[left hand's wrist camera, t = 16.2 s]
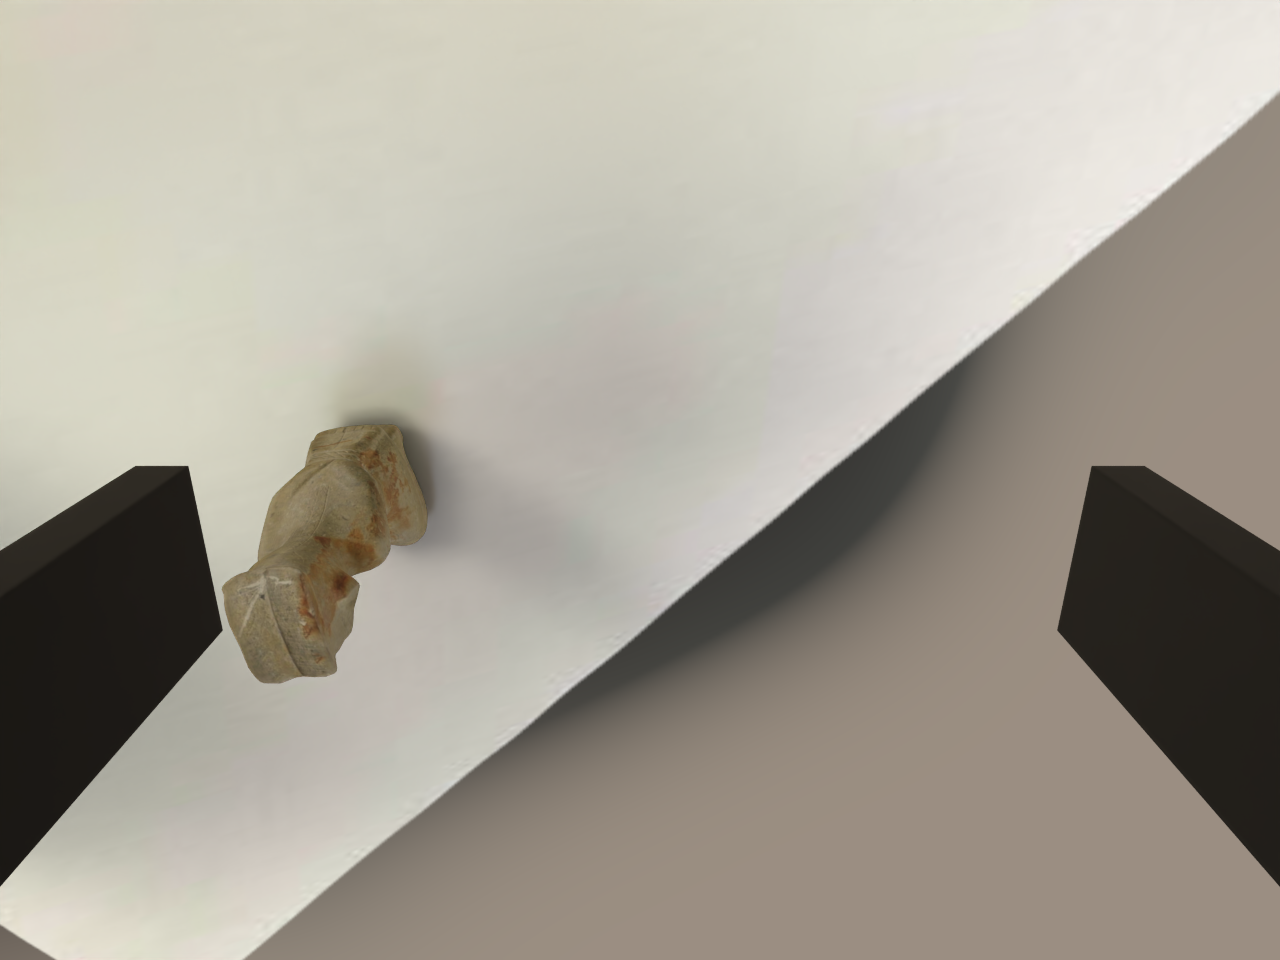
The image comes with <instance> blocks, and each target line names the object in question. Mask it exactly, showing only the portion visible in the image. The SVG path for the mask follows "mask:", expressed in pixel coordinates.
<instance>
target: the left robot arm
mask: <svg viewBox="0 0 1280 960" xmlns="http://www.w3.org/2000/svg"><path fill="white" fill-rule="evenodd" d="M1057 630H1058V632H1059V633H1060V634H1061V635H1062V636H1063V637H1064V639H1065V640H1066V641H1067V642H1068V643H1069V644H1070V645H1071V647H1072V648H1073V649H1074V650H1075V651H1076V652H1077V653H1078V655H1079V656H1080V657H1081V658H1082V659H1083V660H1084V662H1085V663H1086V664H1087V665H1088V666H1089V667H1090V669H1091V670H1092V671H1093V672H1094V673H1095V674H1096V675H1097V677H1098V678H1099V679H1100V680H1101V681H1102V682H1103V683H1104V685H1105V686H1106V687H1107V688H1108V689H1109V690H1110V692H1111V693H1112V694H1113V695H1114V696H1115V697H1116V698H1117V700H1118V701H1119V702H1120V703H1121V704H1122V705H1123V707H1124V708H1125V709H1126V710H1127V711H1128V712H1129V713H1130V715H1131V716H1132V717H1133V718H1134V719H1135V720H1136V721H1137V723H1138V724H1139V725H1140V726H1141V727H1142V728H1143V730H1144V731H1145V732H1146V733H1147V734H1148V735H1149V736H1150V738H1151V739H1152V740H1153V741H1154V742H1155V743H1156V745H1157V746H1158V747H1159V748H1160V749H1161V750H1162V751H1163V753H1164V754H1165V755H1166V756H1167V757H1168V758H1169V760H1170V761H1171V762H1172V763H1173V764H1174V765H1175V766H1176V768H1177V769H1178V770H1179V771H1180V772H1181V773H1182V774H1183V776H1184V777H1185V778H1186V779H1187V780H1188V781H1189V783H1190V784H1191V785H1192V786H1193V787H1194V788H1195V789H1196V791H1197V792H1198V793H1199V794H1200V795H1201V796H1202V798H1203V799H1204V800H1205V801H1206V802H1207V803H1208V804H1209V806H1210V807H1211V808H1212V809H1213V810H1214V811H1215V813H1216V814H1217V815H1218V816H1219V817H1220V818H1221V819H1222V821H1223V822H1224V823H1225V824H1226V825H1227V826H1228V827H1229V829H1230V830H1231V831H1232V832H1233V833H1234V834H1235V836H1236V837H1237V838H1238V839H1239V840H1240V841H1241V842H1242V844H1243V845H1244V846H1245V847H1246V848H1247V849H1248V851H1249V852H1250V853H1251V854H1252V855H1253V856H1254V857H1255V858H1256V860H1257V861H1258V862H1259V863H1260V864H1261V865H1262V867H1263V868H1264V869H1265V870H1266V871H1267V872H1268V874H1269V875H1270V876H1271V877H1272V878H1273V879H1274V880H1275V882H1276V883H1277V884H1278V885H1279V886H1280V551H1279V550H1277V549H1276V548H1274V547H1273V546H1271V545H1269V544H1268V543H1266V542H1265V541H1263V540H1261V539H1260V538H1258V537H1257V536H1255V535H1254V534H1252V533H1250V532H1249V531H1247V530H1246V529H1244V528H1242V527H1241V526H1239V525H1238V524H1236V523H1234V522H1233V521H1231V520H1230V519H1228V518H1226V517H1225V516H1223V515H1222V514H1220V513H1218V512H1217V511H1215V510H1214V509H1212V508H1211V507H1209V506H1207V505H1206V504H1204V503H1203V502H1201V501H1199V500H1198V499H1196V498H1195V497H1193V496H1191V495H1190V494H1188V493H1187V492H1185V491H1183V490H1182V489H1180V488H1179V487H1177V486H1175V485H1174V484H1172V483H1171V482H1169V481H1167V480H1166V479H1164V478H1163V477H1161V476H1159V475H1158V474H1156V473H1155V472H1153V471H1151V470H1150V469H1148V468H1147V467H1145V466H1092V467H1091V472H1090V477H1089V482H1088V487H1087V491H1086V496H1085V501H1084V505H1083V510H1082V515H1081V520H1080V525H1079V529H1078V534H1077V539H1076V544H1075V548H1074V553H1073V558H1072V563H1071V567H1070V572H1069V577H1068V582H1067V587H1066V591H1065V596H1064V601H1063V606H1062V610H1061V615H1060V620H1059V625H1058V629H1057ZM222 631H223V629H222V625H221V620H220V615H219V610H218V606H217V601H216V596H215V591H214V587H213V582H212V577H211V572H210V567H209V563H208V558H207V553H206V548H205V544H204V539H203V534H202V529H201V525H200V520H199V515H198V510H197V505H196V501H195V496H194V491H193V486H192V482H191V477H190V472H189V467H188V466H135V467H133V468H132V469H130V470H128V471H127V472H125V473H124V474H122V475H120V476H119V477H117V478H116V479H114V480H113V481H111V482H109V483H108V484H106V485H105V486H103V487H101V488H100V489H98V490H97V491H95V492H93V493H92V494H90V495H89V496H87V497H85V498H84V499H82V500H81V501H79V502H77V503H76V504H74V505H73V506H71V507H69V508H68V509H66V510H65V511H63V512H61V513H60V514H58V515H57V516H55V517H54V518H52V519H50V520H49V521H47V522H46V523H44V524H42V525H41V526H39V527H38V528H36V529H34V530H33V531H31V532H30V533H28V534H26V535H25V536H23V537H22V538H20V539H18V540H17V541H15V542H14V543H12V544H10V545H9V546H7V547H6V548H4V549H3V550H1V551H0V886H1V885H2V884H3V883H4V882H5V880H6V879H7V878H8V877H9V876H10V875H11V874H12V872H13V871H14V870H15V869H16V868H17V867H18V865H19V864H20V863H21V862H22V861H23V860H24V859H25V857H26V856H27V855H28V854H29V853H30V852H31V851H32V849H33V848H34V847H35V846H36V845H37V844H38V842H39V841H40V840H41V839H42V838H43V837H44V836H45V834H46V833H47V832H48V831H49V830H50V829H51V827H52V826H53V825H54V824H55V823H56V822H57V821H58V819H59V818H60V817H61V816H62V815H63V814H64V813H65V811H66V810H67V809H68V808H69V807H70V806H71V804H72V803H73V802H74V801H75V800H76V799H77V798H78V796H79V795H80V794H81V793H82V792H83V791H84V789H85V788H86V787H87V786H88V785H89V784H90V783H91V781H92V780H93V779H94V778H95V777H96V776H97V774H98V773H99V772H100V771H101V770H102V769H103V768H104V766H105V765H106V764H107V763H108V762H109V761H110V760H111V758H112V757H113V756H114V755H115V754H116V753H117V751H118V750H119V749H120V748H121V747H122V746H123V745H124V743H125V742H126V741H127V740H128V739H129V738H130V736H131V735H132V734H133V733H134V732H135V731H136V730H137V728H138V727H139V726H140V725H141V724H142V723H143V722H144V720H145V719H146V718H147V717H148V716H149V715H150V713H151V712H152V711H153V710H154V709H155V708H156V707H157V705H158V704H159V703H160V702H161V701H162V700H163V698H164V697H165V696H166V695H167V694H168V693H169V692H170V690H171V689H172V688H173V687H174V686H175V685H176V684H177V682H178V681H179V680H180V679H181V678H182V677H183V675H184V674H185V673H186V672H187V671H188V670H189V669H190V667H191V666H192V665H193V664H194V663H195V662H196V660H197V659H198V658H199V657H200V656H201V655H202V654H203V652H204V651H205V650H206V649H207V648H208V647H209V645H210V644H211V643H212V642H213V641H214V640H215V639H216V637H217V636H218V635H219V634H220V633H221V632H222Z"/></svg>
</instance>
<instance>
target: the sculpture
mask: <svg viewBox="0 0 1280 960" xmlns="http://www.w3.org/2000/svg"><path fill="white" fill-rule="evenodd" d="M426 527H427V509H426V504H425V500H424V497H423V495H422V492H421V489H420V487H419V484H418V482H417V480H416V477H415V475H414V472H413V470H412V468H411V467H410V464H409V462H408V459H407V457H406V454H405V451H404V447H403V436H402V434H401V432H400V430H399V429H398V427H397V426H395V425H359V426H349V427H340V428H335V429H330V430H326V431H323V432H320V433H318V434H317V435H316V437H315V439H314V440H313V441H312V442H311V445H310V448H309V451H308V455H307V459H306V465H305V468H304V469H302V470H301V471H300V472H298V473H297V474H296V475H295V476H294V477H293V478H292V479H291V480H290V481H288V482H287V483H286V484H285V485H284V486H283V487H282V488H281V489H280V490H279V491H278V492H277V493H276V494H275V495H274V497H273V498H272V500H271V503H270V505H269V508H268V512H267V516H266V519H265V523H264V527H263V531H262V535H261V540H260V545H259V550H258V562H257V563H255V564H254V565H253V566H252V567H251V568H250V570H249V571H248V572H245V573H241V574H239V575H237V576H235V577H233V578H231V579H230V580H229V581H227V582H226V583H225V584H224V585H223V587H222V591H223V594H224V606H225V611H226V615H227V619H228V622H229V625H230V627H231V630H232V632H233V634H234V636H235V638H236V640H237V642H238V644H239V646H240V648H241V650H242V653H243V655H244V658H245V660H246V663H247V665H248V668H249V669H250V671H251V672H252V673H253V675H254V676H255V677H256V678H257V679H258V680H259V681H260V682H262V683H283V682H285V681H288V680H291V679H293V678H296V677H303V676H304V677H325V676H329V675H331V674H334V673H335V672H336V671H337V664H336V658H335V654H336V653H337V652H338V650H339V649H340V647H341V645H342V644H343V642H344V640H345V639H346V638H347V637H348V635H349V634H350V633H351V631H352V627H353V613H354V606H355V603H356V599H357V595H358V591H359V583H358V582H357V581H356V580H355V579H354V578H352V577H351V576H353V575H356V574H358V573H362V572H365V571H368V570H371V569H373V568H375V567H377V566H379V565H380V564H381V563H383V562H384V560H385V559H386V557H387V556H388V554H389V552H390V546H391V545H399V546H404V545H410V544H413V543H415V542H417V541H418V540H419V539H420V538H421V537H422V536H423V535H424V533H425V531H426Z"/></svg>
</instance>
